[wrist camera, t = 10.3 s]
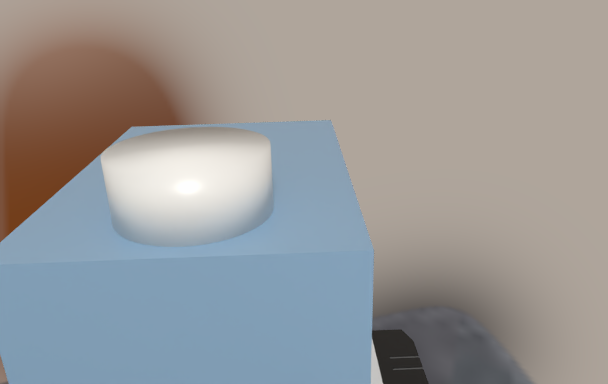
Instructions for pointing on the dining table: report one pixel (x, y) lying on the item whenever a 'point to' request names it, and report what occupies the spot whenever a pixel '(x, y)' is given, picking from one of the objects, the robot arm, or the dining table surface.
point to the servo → (194, 264)
